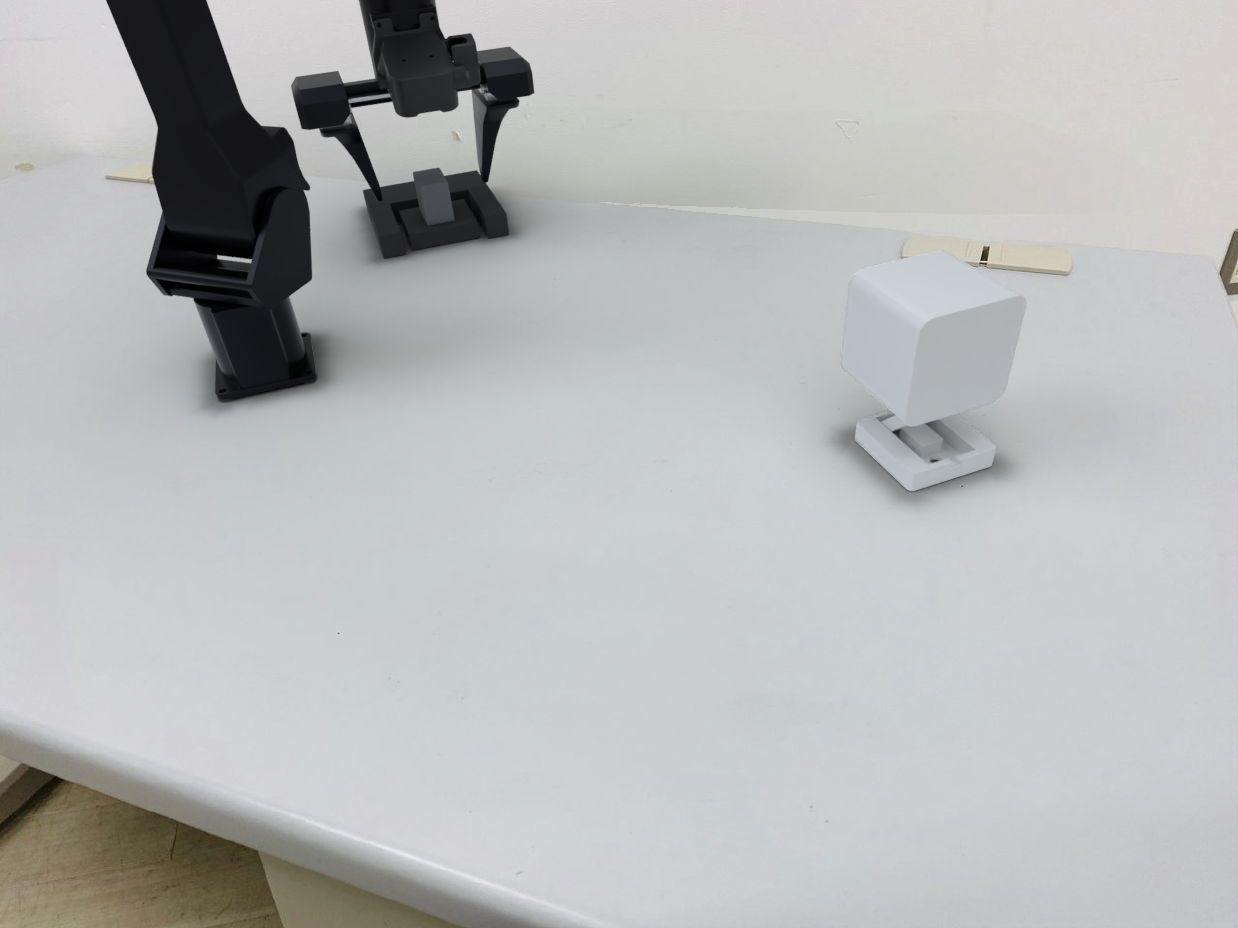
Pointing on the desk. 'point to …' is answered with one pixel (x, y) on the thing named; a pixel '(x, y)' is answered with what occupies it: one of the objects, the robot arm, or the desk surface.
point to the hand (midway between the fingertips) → (433, 190)
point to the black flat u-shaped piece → (406, 197)
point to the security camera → (929, 361)
